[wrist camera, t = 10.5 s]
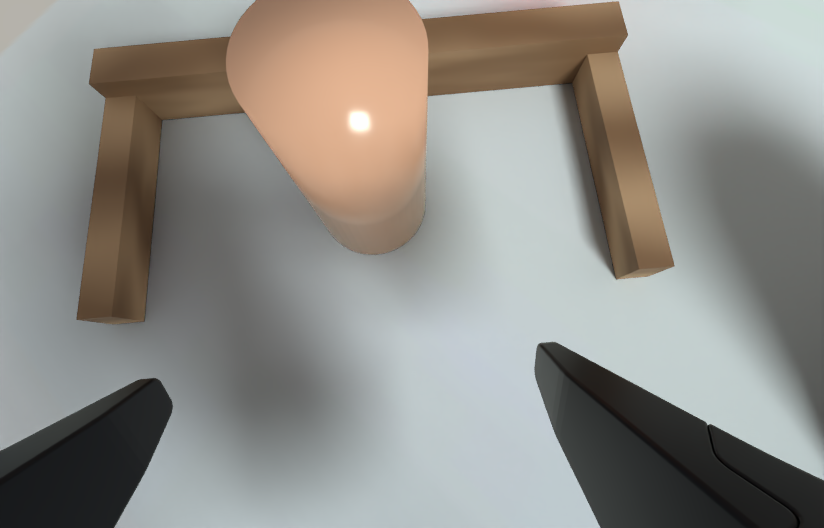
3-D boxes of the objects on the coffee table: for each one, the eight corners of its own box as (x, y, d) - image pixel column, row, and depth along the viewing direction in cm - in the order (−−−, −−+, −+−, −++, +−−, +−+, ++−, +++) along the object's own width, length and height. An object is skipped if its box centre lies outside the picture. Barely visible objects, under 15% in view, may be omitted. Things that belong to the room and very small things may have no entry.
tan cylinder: (429, 249, 19) (438, 130, 9) (324, 259, 19) (221, 149, 9) (420, 155, 20) (418, -38, 11) (321, 163, 20) (228, -20, 11)
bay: (647, 276, 18) (690, 259, 15) (113, 324, 18) (54, 316, 15) (592, 50, 22) (618, 1, 19) (137, 91, 22) (94, 48, 19)
